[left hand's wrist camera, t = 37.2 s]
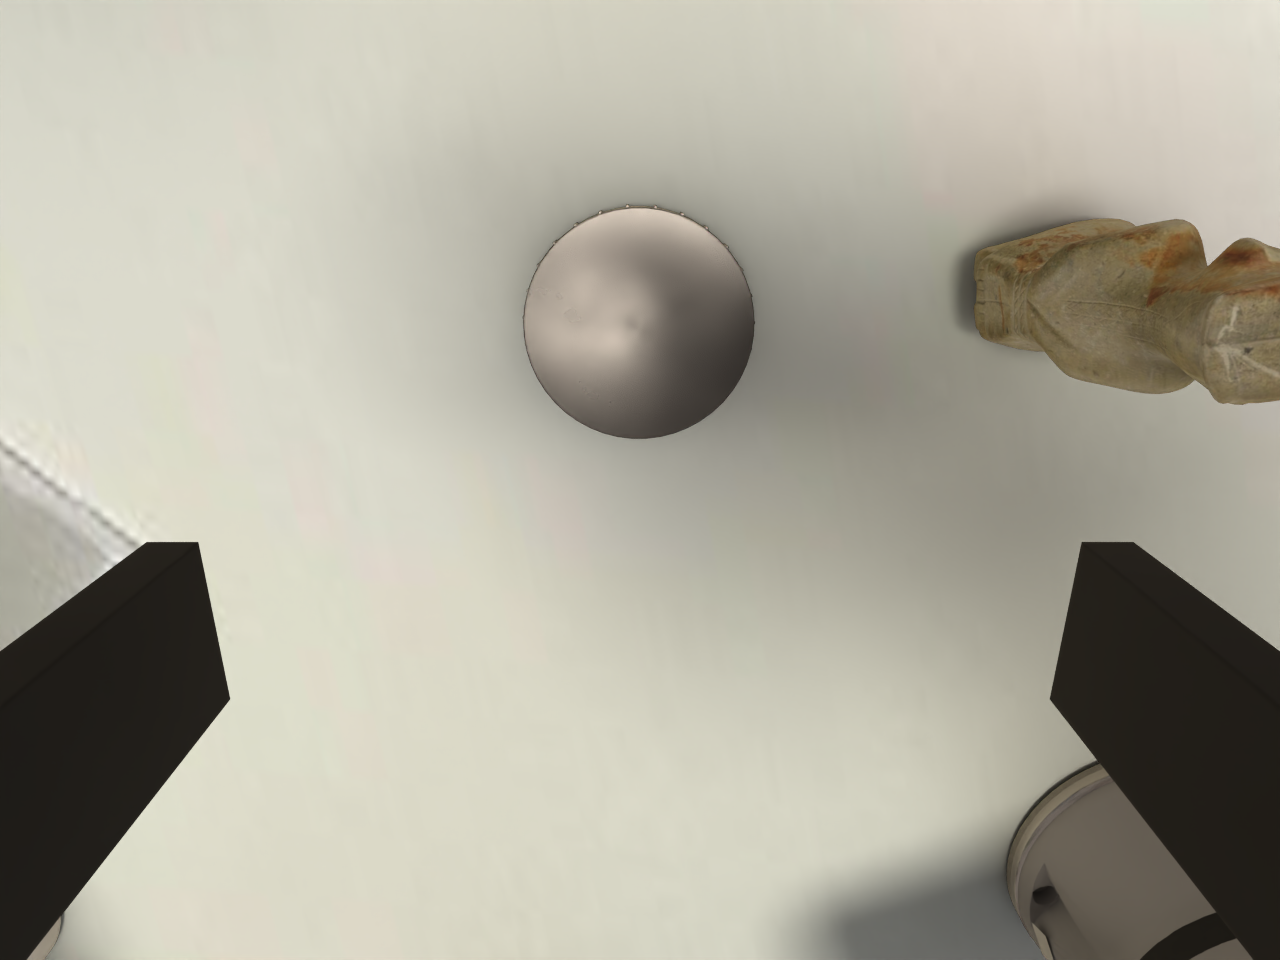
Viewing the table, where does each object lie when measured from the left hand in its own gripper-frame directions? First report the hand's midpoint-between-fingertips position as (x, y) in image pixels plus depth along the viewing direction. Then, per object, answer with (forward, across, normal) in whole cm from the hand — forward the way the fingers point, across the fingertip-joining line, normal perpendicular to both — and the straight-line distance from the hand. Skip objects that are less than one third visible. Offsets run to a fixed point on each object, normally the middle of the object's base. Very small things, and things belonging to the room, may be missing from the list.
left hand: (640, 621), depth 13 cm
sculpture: (+26, -17, -2) cm, 32 cm away
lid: (+25, 0, 0) cm, 25 cm away
